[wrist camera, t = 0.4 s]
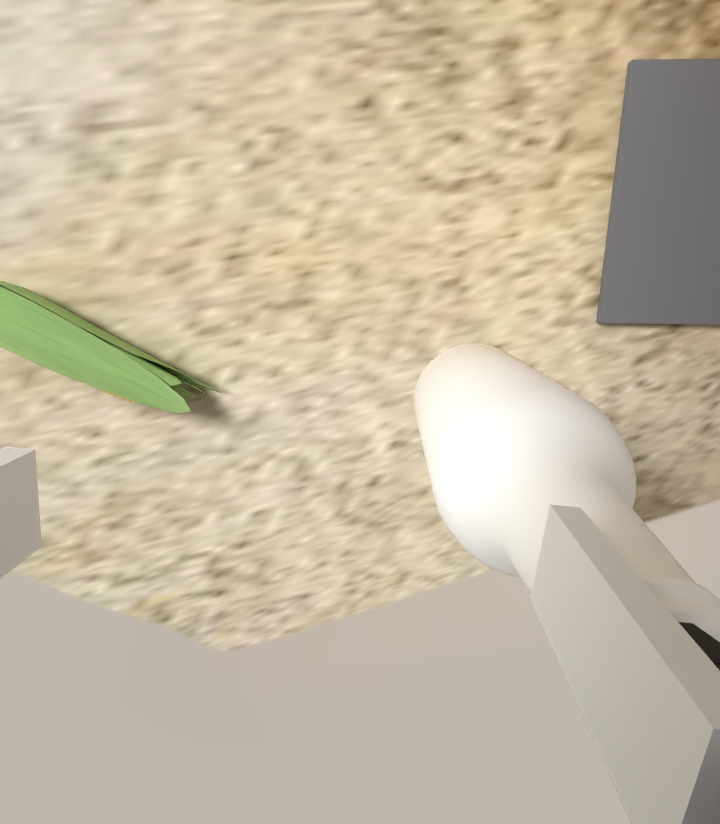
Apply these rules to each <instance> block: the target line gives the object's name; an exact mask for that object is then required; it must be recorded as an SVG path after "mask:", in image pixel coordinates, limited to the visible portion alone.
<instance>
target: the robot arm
mask: <svg viewBox="0 0 720 824" xmlns="http://www.w3.org/2000/svg"><path fill="white" fill-rule="evenodd" d="M41 546H42V543H41V529H40V514H39V500H38V486H37V471H36V457H35V449H26V448H16V447H7V446H5V447H3V448H1V449H0V579H1V578H2V577H3V576H4V575H6V574H7V573H8V572H9V571H11V570H12V569H13V568H15V567H16V566H17V565H18V564H20V563H21V562H22V561H24V560H25V559H26V558H27V557H29V556H30V555H31V554H32V553H34V552H35V551H36V550H38V549H39V548H40V547H41ZM530 601H531V603H532V605H533V607H534V609H535V612H536V614H537V616H538V618H539V620H540V623H541V625H542V627H543V630H544V632H545V634H546V636H547V638H548V640H549V643H550V645H551V647H552V649H553V652H554V654H555V656H556V658H557V660H558V663H559V665H560V667H561V669H562V671H563V674H564V676H565V678H566V680H567V682H568V685H569V687H570V689H571V691H572V694H573V696H574V698H575V700H576V702H577V705H578V707H579V709H580V711H581V713H582V715H583V718H584V720H585V722H586V725H587V726H588V729H589V731H590V733H591V736H592V738H593V740H594V742H595V744H596V747H597V749H598V751H599V753H600V756H601V758H602V760H603V762H604V764H605V767H606V769H607V771H608V773H609V775H610V778H611V780H612V782H613V784H614V786H615V789H616V791H617V793H618V795H619V797H620V799H621V802H622V804H623V806H624V809H625V811H626V813H627V815H628V817H629V820H630V822H631V824H720V642H719V641H717V640H716V639H714V638H713V637H712V636H710V635H709V634H707V633H706V632H705V631H703V630H702V629H700V628H699V627H697V626H696V625H695V624H693V623H685V622H678V621H677V620H676V619H675V618H674V616H673V615H672V614H671V613H670V612H669V611H668V609H667V608H666V607H665V606H664V605H663V604H662V602H661V601H660V600H659V599H658V598H657V597H656V595H655V594H654V593H653V592H652V591H651V590H650V588H649V587H648V586H647V585H646V584H645V583H644V581H643V580H642V579H641V578H640V577H639V575H638V574H637V573H636V572H635V571H634V570H633V568H632V567H631V566H630V565H629V564H628V563H627V561H626V560H625V559H624V558H623V557H622V556H621V554H620V553H619V552H618V551H617V550H616V549H615V547H614V546H613V545H612V544H611V543H610V542H609V540H608V539H607V538H606V537H605V536H604V534H603V533H602V532H601V531H600V530H599V529H598V527H597V526H596V525H595V524H594V523H593V522H592V520H591V519H590V518H589V517H588V516H587V515H586V513H585V512H584V511H583V510H582V509H581V508H579V507H570V506H560V505H551V504H550V507H549V511H548V516H547V521H546V526H545V531H544V536H543V541H542V545H541V550H540V555H539V560H538V565H537V570H536V575H535V579H534V584H533V589H532V594H531V599H530Z"/></svg>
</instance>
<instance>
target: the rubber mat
mask: <svg viewBox="0 0 720 824" xmlns="http://www.w3.org/2000/svg"><path fill="white" fill-rule="evenodd" d="M596 322H597V323H636V324H704V325H720V59H674V60H631V61H630V62H629V63H628V68H627V77H626V85H625V93H624V101H623V109H622V117H621V126H620V134H619V142H618V150H617V158H616V166H615V174H614V183H613V191H612V199H611V207H610V215H609V223H608V231H607V240H606V248H605V256H604V264H603V272H602V280H601V289H600V297H599V305H598V313H597V321H596Z"/></svg>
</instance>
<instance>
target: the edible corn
mask: <svg viewBox="0 0 720 824" xmlns="http://www.w3.org/2000/svg"><path fill="white" fill-rule="evenodd" d="M0 347H2V348H4V349H6V350H8V351H10V352H12V353H14V354H16V355H18V356H21V357H23V358H25V359H28V360H30V361H32V362H34V363H37V364H39V365H41V366H44V367H46V368H48V369H51V370H53V371H55V372H57V373H60V374H63V375H65V376H68V377H70V378H73V379H75V380H78V381H80V382H83V383H85V384H88V385H91V386H93V387H96V388H98V389H100V390H102V391H104V392H106V393H109V394H112V395H114V396H117V397H120V398H122V399H125V400H128V401H130V402H137V403H140V404H143V405H146V406H150V407H154V408H158V409H162V410H166V411H170V412H174V413H182V412H189V411H191V410H190V409H189V407H188V405H187V404H186V402H185V400H184V398H182V397H189V398H198V397H196V396H195V395H193V394H192V393H191V392H189V391H188V390H187V389H185V388H184V387H182V386H181V385H180V384H181V382H183V383H185V384H187V385H189V386H191V387H193V388H195V389H197V390H199V391H201V392H203V391H202V390H200V389H199V388H198V387H196V386H194V385H192V384H190V383H188V382H186V381H184V380H187V381H189V382H192V383H195V384H198V385H201V386H204V387H207V388H210V389H213V388H211V387H209V386H207V385H206V384H204V383H202V382H200V381H198V380H196V379H194V378H192V377H190V376H188V375H186V374H184V373H183V372H181V371H179V370H177V369H175V368H173V367H171V366H169V365H167V364H165V363H163V362H161V361H160V360H158V359H156V358H154V357H152V356H150V355H148V354H146V353H145V352H143V351H141V350H139V349H137V348H135V347H133V346H131V345H130V344H128V343H126V342H124V341H122V340H120V339H118V338H116V337H115V336H113V335H111V334H109V333H107V332H105V331H103V330H102V329H100V328H98V327H96V326H94V325H93V324H91V323H89V322H87V321H85V320H84V319H82V318H80V317H78V316H76V315H75V314H73V313H71V312H69V311H68V310H66V309H64V308H62V307H60V306H59V305H57V304H55V303H53V302H51V301H49V300H47V299H45V298H43V297H41V296H39V295H37V294H36V293H34V292H32V291H30V290H28V289H26V288H23V287H20V286H16V285H13V284H10V283H6V282H3V281H0ZM177 376H178V377H177ZM179 377H180V378H179ZM181 378H182V379H181ZM183 379H184V380H183ZM180 381H181V382H180ZM213 390H215V389H213ZM215 391H217V390H215ZM218 392H219V391H218ZM203 393H204V392H203ZM220 393H221V392H220ZM205 394H206V393H205ZM181 396H182V397H181Z"/></svg>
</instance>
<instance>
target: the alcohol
mask: <svg viewBox="0 0 720 824" xmlns="http://www.w3.org/2000/svg"><path fill="white" fill-rule="evenodd" d="M414 410H415V415H416V419H417V424H418V428H419V432H420V437H421V441H422V445H423V450H424V454H425V458H426V463H427V467H428V471H429V475H430V480H431V484H432V488H433V493H434V497H435V501H436V504H437V507H438V511H439V514H440V516H441V518H442V519H443V521H444V523H445V525H446V527H447V529H448V530H449V531H450V532H451V533H452V535H453V536H454V537H455V538H456V539H457V540H458V542H459V543H460V544H461V545H462V546H463V547H464V548H465V549H466V550H467V551H468V552H469V553H470V554H471V555H472V556H474V557H475V558H476V559H477V560H479V561H480V562H481V563H482V564H484V565H486V566H488V567H490V568H492V569H494V570H496V571H498V572H502V573H505V574H508V575H512V576H517V577H521V578H522V580H523V582H524V583H525V585H526V586H527V588H528V590H529V591H530V593H531V594H532V589H533V584H534V579H535V575H536V570H537V565H538V560H539V555H540V550H541V545H542V541H543V536H544V531H545V526H546V521H547V516H548V511H549V507H550V504H551V505H560V506H570V507H579V508H581V509H582V510H583V511H584V512H585V513H586V515H587V516H588V517H589V518H590V519H591V520H592V522H593V523H594V524H595V525H596V526H597V527H598V529H599V530H600V531H601V532H602V533H603V534H604V536H605V537H606V538H607V539H608V540H609V542H610V543H611V544H612V545H613V546H614V547H615V549H616V550H617V551H618V552H619V553H620V554H621V556H622V557H623V558H624V559H625V560H626V561H627V563H628V564H629V565H630V566H631V567H632V568H633V570H634V571H635V572H636V573H637V574H638V575H639V577H640V578H641V579H642V580H643V581H644V583H645V584H646V585H647V586H648V587H649V588H650V590H651V591H652V592H653V593H654V594H655V595H656V597H657V598H658V599H659V600H660V601H661V602H662V604H663V605H664V606H665V607H666V608H667V609H668V611H669V612H670V613H671V614H672V615H673V616H674V618H675V619H676V620H677V621H678V622H685V623H693V624H695V625H696V626H697V627H699V628H700V629H702V630H703V631H705V632H706V633H707V634H709V635H710V636H712V637H713V638H714V639H716V640H717V641H719V642H720V600H719V599H718V598H717V597H716V596H715V595H713V594H712V593H711V592H710V591H709V590H707V589H706V588H703V587H702V586H700V585H698V584H696V583H695V582H694V581H693V580H692V579H691V577H690V576H689V575H688V574H687V573H686V572H685V570H684V569H683V568H682V567H681V566H680V565H679V563H678V562H677V561H676V560H675V558H674V557H673V556H672V555H671V554H670V552H669V551H668V550H667V549H666V548H665V547H664V545H663V544H662V543H661V542H660V541H659V539H658V538H657V537H656V536H655V535H654V534H653V532H652V531H651V530H650V529H649V528H648V526H647V525H646V524H645V523H644V522H643V521H642V519H641V518H640V517H639V516H638V515H637V513H636V512H635V511H634V510H633V505H634V501H635V497H636V474H635V469H634V464H633V460H632V458H631V456H630V454H629V451H628V449H627V447H626V445H625V443H624V441H623V439H622V437H621V435H620V434H619V432H618V430H617V429H616V427H615V426H614V425H613V423H612V422H611V421H610V419H609V418H608V417H607V416H606V415H605V414H604V413H603V412H602V411H601V410H600V409H598V408H597V407H596V406H595V405H594V404H592V403H591V402H589V401H587V400H586V399H584V398H582V397H581V396H579V395H577V394H575V393H574V392H572V391H570V390H569V389H567V388H565V387H564V386H562V385H560V384H558V383H557V382H555V381H553V380H552V379H550V378H548V377H547V376H545V375H543V374H541V373H540V372H538V371H536V370H535V369H533V368H531V367H530V366H528V365H526V364H524V363H523V362H521V361H519V360H518V359H516V358H514V357H513V356H511V355H509V354H507V353H506V352H504V351H502V350H500V349H498V348H496V347H493V346H490V345H486V344H477V343H471V344H462V345H459V346H455V347H452V348H450V349H448V350H446V351H444V352H442V353H440V354H439V355H438V356H437V357H435V358H434V359H433V360H432V361H431V362H430V363H429V364H428V365H427V366H426V368H425V369H424V370H423V372H422V374H421V376H420V377H419V379H418V382H417V385H416V388H415V394H414Z"/></svg>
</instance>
